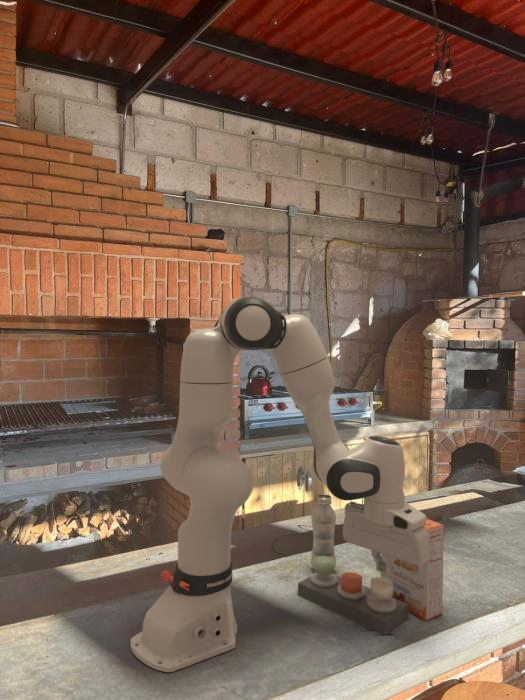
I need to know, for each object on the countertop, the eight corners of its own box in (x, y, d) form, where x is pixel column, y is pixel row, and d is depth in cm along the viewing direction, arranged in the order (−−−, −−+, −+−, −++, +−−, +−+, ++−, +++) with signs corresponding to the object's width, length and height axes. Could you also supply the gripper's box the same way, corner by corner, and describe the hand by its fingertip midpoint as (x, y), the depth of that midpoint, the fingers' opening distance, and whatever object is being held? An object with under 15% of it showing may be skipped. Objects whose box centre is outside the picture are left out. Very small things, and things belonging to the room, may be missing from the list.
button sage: (326, 577, 126) (326, 566, 126) (310, 570, 129) (310, 560, 129) (338, 570, 130) (338, 560, 129) (322, 564, 133) (322, 554, 133)
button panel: (384, 635, 112) (385, 616, 112) (297, 595, 129) (298, 578, 129) (408, 617, 119) (409, 599, 119) (323, 581, 136) (323, 566, 136)
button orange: (354, 595, 121) (354, 583, 120) (336, 587, 124) (337, 576, 124) (366, 588, 124) (366, 577, 124) (349, 581, 127) (349, 570, 127)
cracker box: (378, 596, 129) (380, 510, 128) (396, 589, 132) (398, 506, 132) (424, 622, 117) (426, 528, 117) (443, 615, 120) (445, 523, 120)
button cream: (385, 601, 115) (385, 589, 115) (366, 593, 118) (366, 582, 118) (396, 593, 118) (397, 582, 118) (378, 586, 122) (378, 575, 122)
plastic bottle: (337, 576, 139) (338, 500, 138) (311, 575, 139) (312, 499, 139) (334, 565, 146) (335, 492, 145) (309, 565, 146) (310, 492, 145)
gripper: (337, 502, 123) (337, 561, 123) (419, 525, 108) (418, 592, 109) (352, 496, 127) (352, 553, 128) (433, 517, 113) (433, 581, 114)
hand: (383, 571), depth 118 cm, fingers closed
